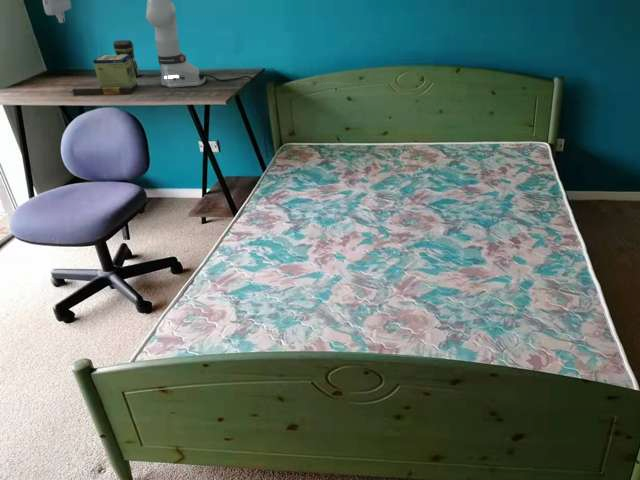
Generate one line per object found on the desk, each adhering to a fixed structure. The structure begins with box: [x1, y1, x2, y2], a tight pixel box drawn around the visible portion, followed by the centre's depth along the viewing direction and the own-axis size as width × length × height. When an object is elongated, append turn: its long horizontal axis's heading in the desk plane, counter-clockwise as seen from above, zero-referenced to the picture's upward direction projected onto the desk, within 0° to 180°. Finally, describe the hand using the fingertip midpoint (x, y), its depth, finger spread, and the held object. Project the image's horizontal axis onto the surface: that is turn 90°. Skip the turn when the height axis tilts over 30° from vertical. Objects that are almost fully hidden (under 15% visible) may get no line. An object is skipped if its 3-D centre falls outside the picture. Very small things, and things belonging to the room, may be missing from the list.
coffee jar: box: [113, 39, 141, 78], centre depth 318 cm, size 10×8×19 cm
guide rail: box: [72, 87, 132, 96], centre depth 295 cm, size 28×2×3 cm, turn 89°
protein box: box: [92, 54, 138, 92], centre depth 299 cm, size 10×16×16 cm
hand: (62, 22), depth 291 cm, fingers closed
